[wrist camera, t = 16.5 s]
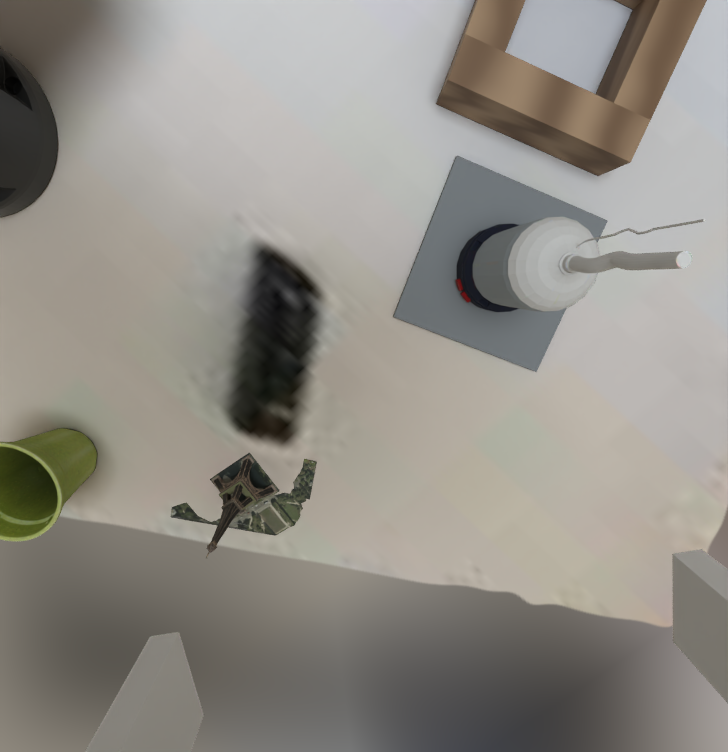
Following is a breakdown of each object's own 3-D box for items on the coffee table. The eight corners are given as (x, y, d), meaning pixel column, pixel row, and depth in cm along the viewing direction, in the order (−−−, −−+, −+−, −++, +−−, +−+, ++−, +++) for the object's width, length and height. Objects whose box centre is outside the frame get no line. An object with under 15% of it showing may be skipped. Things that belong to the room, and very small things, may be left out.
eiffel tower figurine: (170, 515, 49) (104, 601, 36) (180, 431, 47) (114, 490, 34) (302, 537, 50) (284, 628, 37) (318, 456, 48) (305, 522, 35)
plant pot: (65, 510, 48) (3, 560, 39) (4, 443, 46) (-74, 480, 38) (132, 466, 47) (83, 506, 39) (72, 395, 45) (8, 422, 37)
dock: (436, 104, 40) (447, 79, 35) (513, -104, 37) (538, -162, 32) (598, 175, 42) (630, 162, 37) (686, -17, 39) (734, -59, 34)
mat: (393, 316, 44) (393, 316, 44) (455, 157, 41) (457, 155, 41) (533, 370, 46) (536, 371, 45) (604, 221, 43) (607, 220, 42)
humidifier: (441, 291, 43) (558, 305, 19) (479, 211, 42) (659, 114, 17) (513, 324, 44) (713, 379, 20) (553, 247, 43) (822, 204, 18)
